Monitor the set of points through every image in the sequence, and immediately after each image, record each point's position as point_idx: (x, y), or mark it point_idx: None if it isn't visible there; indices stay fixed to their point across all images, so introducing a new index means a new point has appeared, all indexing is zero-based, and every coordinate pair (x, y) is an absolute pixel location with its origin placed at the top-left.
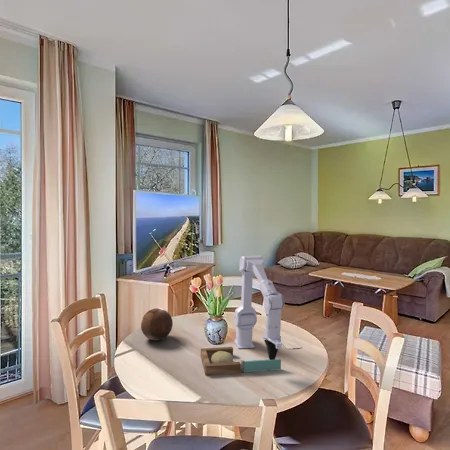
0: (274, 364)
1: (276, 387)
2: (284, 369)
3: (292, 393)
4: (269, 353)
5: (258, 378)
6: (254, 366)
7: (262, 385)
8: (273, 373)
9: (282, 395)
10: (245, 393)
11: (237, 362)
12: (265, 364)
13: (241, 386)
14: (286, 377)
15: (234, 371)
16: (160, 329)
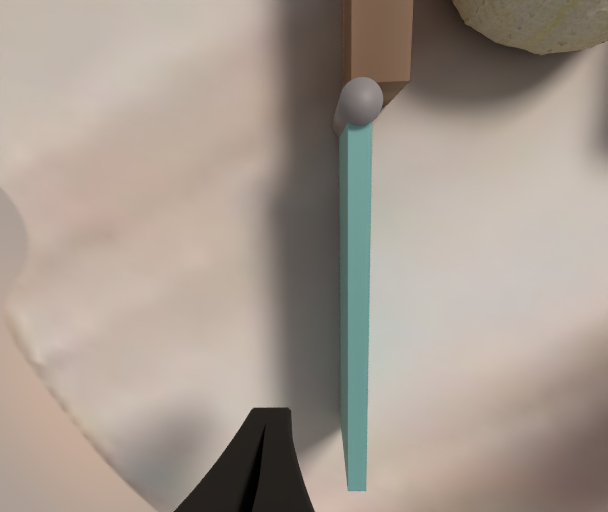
0: (344, 408)
1: (120, 324)
2: None
3: (58, 393)
4: (212, 467)
5: (239, 236)
6: (343, 237)
7: (143, 239)
8: (299, 359)
9: (31, 331)
10: (32, 81)
11: (392, 48)
12: (343, 339)
13: (127, 69)
14: (240, 421)
15: (343, 39)
16: None
